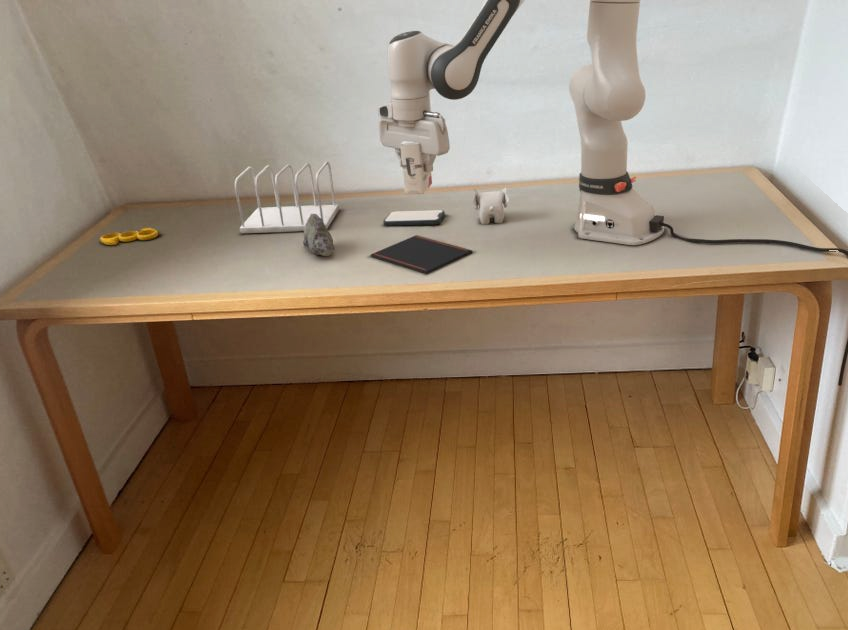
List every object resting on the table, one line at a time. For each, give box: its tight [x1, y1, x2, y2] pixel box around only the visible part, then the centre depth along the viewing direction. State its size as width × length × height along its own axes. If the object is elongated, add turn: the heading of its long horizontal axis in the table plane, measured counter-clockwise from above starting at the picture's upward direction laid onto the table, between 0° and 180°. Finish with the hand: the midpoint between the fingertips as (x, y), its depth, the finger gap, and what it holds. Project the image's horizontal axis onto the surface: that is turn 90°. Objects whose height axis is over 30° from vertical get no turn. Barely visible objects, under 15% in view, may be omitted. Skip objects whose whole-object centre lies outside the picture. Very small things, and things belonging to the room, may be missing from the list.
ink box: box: [400, 141, 433, 195], centre depth 183 cm, size 9×5×12 cm, turn 167°
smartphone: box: [383, 209, 446, 227], centre depth 216 cm, size 9×2×16 cm
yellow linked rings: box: [99, 227, 159, 246], centre depth 223 cm, size 17×2×10 cm
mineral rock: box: [302, 214, 335, 257], centre depth 198 cm, size 13×11×10 cm
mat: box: [370, 235, 473, 275], centre depth 193 cm, size 20×16×1 cm
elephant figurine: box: [472, 186, 510, 225], centre depth 209 cm, size 10×12×9 cm
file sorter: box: [234, 160, 340, 234], centre depth 220 cm, size 25×17×16 cm
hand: (416, 169), depth 183 cm, fingers closed on ink box, 7 cm apart
